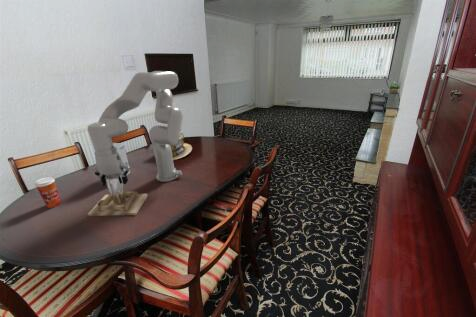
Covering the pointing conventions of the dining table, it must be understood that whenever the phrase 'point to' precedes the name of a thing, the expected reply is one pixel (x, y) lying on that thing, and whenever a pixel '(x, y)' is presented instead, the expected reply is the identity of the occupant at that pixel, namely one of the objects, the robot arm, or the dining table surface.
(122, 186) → the beer glass
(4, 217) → the dining table surface
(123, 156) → the hard drive box
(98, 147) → the robot arm
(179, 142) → the gold white round stack
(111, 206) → the pocket board
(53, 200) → the paper cup
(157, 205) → the dining table surface
